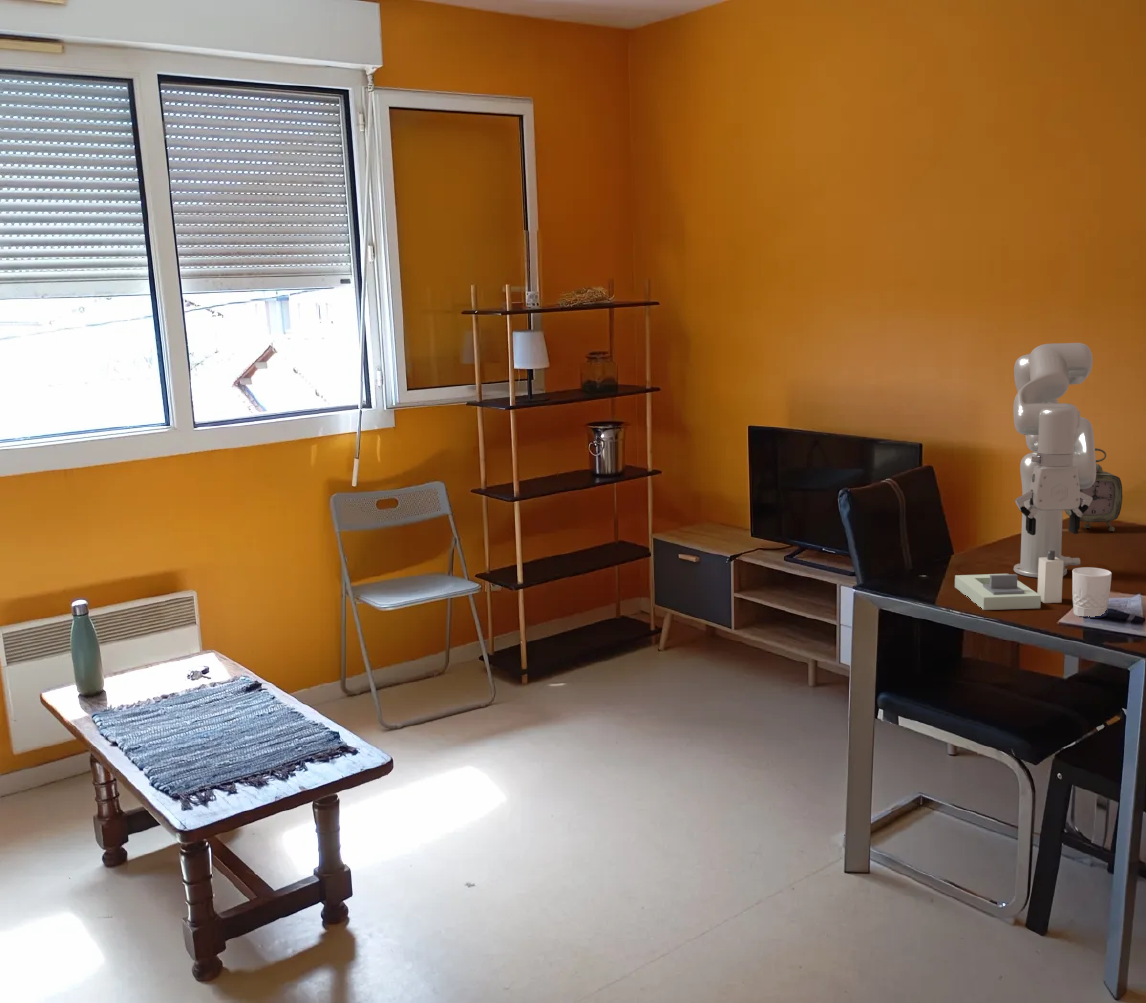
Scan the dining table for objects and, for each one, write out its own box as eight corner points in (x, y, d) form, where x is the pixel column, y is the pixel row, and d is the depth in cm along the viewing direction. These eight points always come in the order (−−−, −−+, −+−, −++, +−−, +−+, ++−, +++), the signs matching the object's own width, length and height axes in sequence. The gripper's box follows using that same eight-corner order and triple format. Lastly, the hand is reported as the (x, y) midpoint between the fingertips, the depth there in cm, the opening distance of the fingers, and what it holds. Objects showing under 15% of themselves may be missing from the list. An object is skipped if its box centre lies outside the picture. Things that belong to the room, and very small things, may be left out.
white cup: (1063, 610, 238) (1065, 568, 236) (1096, 608, 238) (1098, 566, 236) (1082, 621, 230) (1084, 577, 228) (1116, 618, 230) (1119, 574, 229)
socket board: (1007, 585, 260) (1007, 573, 259) (1040, 608, 240) (1040, 595, 240) (954, 587, 260) (955, 575, 260) (983, 610, 241) (983, 597, 240)
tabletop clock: (1068, 533, 311) (1072, 450, 306) (1059, 527, 320) (1063, 446, 315) (1120, 533, 308) (1125, 449, 304) (1110, 526, 317) (1114, 445, 313)
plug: (1054, 597, 248) (1056, 548, 246) (1061, 602, 244) (1063, 552, 242) (1037, 598, 248) (1039, 549, 246) (1044, 603, 244) (1046, 553, 242)
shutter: (1012, 585, 249) (1013, 570, 248) (1024, 593, 242) (1024, 578, 241) (982, 586, 249) (983, 571, 248) (993, 594, 242) (994, 579, 241)
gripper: (1023, 464, 236) (1021, 537, 239) (1101, 461, 236) (1097, 535, 238) (1010, 459, 244) (1008, 531, 246) (1085, 457, 243) (1082, 529, 246)
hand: (1052, 533), depth 242 cm, fingers open, 9 cm apart
